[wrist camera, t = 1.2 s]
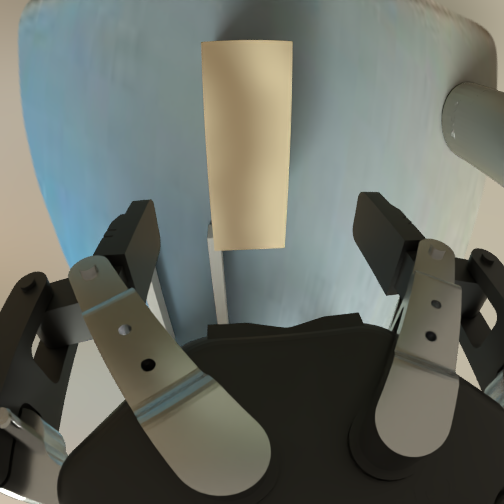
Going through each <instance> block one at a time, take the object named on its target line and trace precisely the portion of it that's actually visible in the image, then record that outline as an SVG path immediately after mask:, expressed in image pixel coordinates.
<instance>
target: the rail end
mask: <svg viewBox="0 0 504 504" xmlns="http://www.w3.org/2000/svg"><path fill="white" fill-rule="evenodd" d="M201 48H202V77H203V100H204V119H205V137H206V152H207V167H208V181H209V194H210V206H211V218H212V229H213V240H214V250H215V251H224V250H247V249H270V248H285V233H286V217H287V199H288V180H289V158H290V133H291V100H292V41H276V40H230V41H211V42H201Z"/></svg>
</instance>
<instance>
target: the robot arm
mask: <svg viewBox="0 0 504 504" xmlns="http://www.w3.org/2000/svg"><path fill="white" fill-rule="evenodd" d="M442 131H443V135H444V139H445V141H446V143H447V145H448V147H449V148H450V150H451V151H452V152H453V153H454V154H455V155H457V156H458V157H460V158H462V159H463V160H465V161H466V162H468V163H469V164H471V165H472V166H474V167H476V168H477V169H478V170H480V171H481V172H483V173H484V174H486V175H487V176H489V177H490V178H491V179H493V180H494V181H496V182H497V183H498V184H500V185H501V186H502V187H504V92H501V91H498V90H495V89H492V88H489V87H486V86H482V85H479V84H475V83H470V82H466V83H462V84H460V85H458V86H456V87H455V88H454V89H453V90H452V91H451V93H450V94H449V96H448V97H447V99H446V102H445V104H444V108H443V113H442ZM353 237H354V240H355V242H356V244H357V246H358V247H359V249H360V251H361V252H362V254H363V256H364V257H365V259H366V261H367V262H368V264H369V266H370V268H371V269H372V271H373V273H374V275H375V276H376V278H377V280H378V282H379V284H380V285H381V287H382V289H383V291H384V293H385V294H386V296H388V295H396V294H399V296H400V297H399V299H398V302H397V304H396V308H395V311H394V314H393V317H392V320H391V323H390V326H389V329H385V328H383V327H379V326H376V325H371V324H365V323H363V322H362V319H361V317H360V315H359V313H351V314H342V315H333V316H324V317H321V318H318V319H315V320H312V321H309V322H306V323H303V324H300V325H296V326H293V327H289V328H283V327H275V326H267V325H259V324H251V323H235V324H213V325H208V334H207V336H206V337H203V338H200V339H197V340H194V341H192V342H189V343H187V344H185V345H183V346H182V347H180V346H179V345H178V344H177V343H176V341H175V340H174V339H173V338H172V337H171V335H170V334H169V333H168V332H167V330H166V329H165V328H164V327H163V326H162V324H161V323H160V322H159V320H158V319H157V318H156V317H155V315H154V314H153V313H152V312H151V310H150V309H149V308H148V306H147V305H146V304H145V303H146V299H147V295H148V291H149V288H150V284H151V280H152V276H153V273H154V269H155V265H156V262H157V258H158V255H159V251H160V234H159V229H158V224H157V219H156V213H155V208H154V203H153V201H152V200H151V199H150V200H140V201H133V202H132V203H131V205H130V206H129V208H128V210H127V211H126V213H125V214H122V215H120V216H118V217H117V218H116V219H115V220H114V221H112V223H111V224H110V226H109V228H108V229H107V231H106V233H105V234H104V238H102V240H101V241H100V243H99V245H98V247H97V249H96V250H95V252H94V254H93V256H90V257H86V258H84V259H82V260H80V261H79V262H77V263H76V264H75V265H74V266H73V267H72V268H71V269H70V271H69V274H68V278H66V279H63V280H59V281H56V282H53V283H49V281H48V279H47V277H46V275H45V274H44V273H42V272H33V273H30V274H28V275H26V276H24V277H23V278H21V279H20V280H19V281H18V282H17V283H16V285H15V286H14V288H13V289H12V291H11V293H10V295H9V297H8V298H7V300H6V302H5V304H4V306H3V308H2V310H1V312H0V493H2V494H4V495H7V496H9V497H11V498H14V499H17V500H22V501H25V502H27V503H30V504H504V266H503V264H502V263H501V262H500V261H499V259H498V258H497V257H496V256H495V255H493V254H492V253H490V252H488V251H486V250H484V249H479V248H477V249H474V250H473V251H472V252H471V255H470V258H469V260H466V259H460V258H455V255H454V252H453V251H452V249H451V248H450V247H448V246H447V245H446V244H444V243H442V242H440V241H438V240H434V239H426V238H425V237H424V236H423V235H422V234H421V232H420V231H419V230H418V229H417V228H416V227H415V226H414V225H413V224H412V222H411V221H410V220H409V219H408V218H406V216H405V215H404V214H403V213H402V212H401V210H399V209H398V208H396V207H394V206H393V205H391V204H390V203H389V202H388V201H387V200H386V199H385V198H384V197H383V196H382V195H381V194H380V193H379V192H361V193H360V194H359V196H358V201H357V207H356V213H355V218H354V224H353ZM487 298H488V300H489V301H490V303H491V304H492V305H493V307H494V308H495V310H496V313H497V321H496V324H495V326H494V327H493V329H492V330H491V329H490V328H489V326H488V324H487V323H486V321H485V319H484V318H483V316H482V314H481V313H480V309H481V307H482V306H483V304H484V302H485V300H486V299H487ZM36 334H37V335H38V336H39V338H40V342H39V345H38V348H37V350H36V353H35V356H34V359H33V357H32V350H31V347H32V344H33V341H34V338H35V336H36ZM91 339H93V340H94V342H95V344H96V346H97V348H98V350H99V352H100V354H101V356H102V358H103V360H104V362H105V364H106V366H107V368H108V369H109V371H110V373H111V375H112V377H113V378H114V380H115V382H116V384H117V386H118V387H119V389H120V391H121V392H122V394H123V396H124V398H125V400H124V401H123V402H122V403H121V404H120V405H119V406H118V407H117V408H116V409H115V410H114V411H113V412H112V413H111V414H110V415H109V416H108V417H107V418H106V419H105V420H104V421H103V422H102V423H101V424H100V425H99V426H98V427H97V428H96V429H95V430H94V431H93V432H92V433H91V434H90V435H89V436H88V437H87V438H86V439H85V440H84V441H83V442H82V443H80V445H78V446H77V447H76V448H75V449H74V450H73V451H72V452H71V453H70V454H69V456H68V455H67V453H66V446H65V442H64V439H63V437H62V435H61V434H60V433H59V427H60V421H61V416H62V410H63V405H64V400H65V395H66V391H67V386H68V382H69V377H70V373H71V369H72V365H73V361H74V357H75V354H76V350H77V346H78V343H79V342H83V341H87V340H91ZM459 342H460V344H461V346H462V348H463V350H464V352H465V354H466V357H467V359H468V361H469V363H470V365H471V367H472V370H473V372H474V374H475V376H476V378H477V381H478V383H479V385H480V387H481V390H482V391H481V390H479V389H478V388H476V387H475V386H473V385H472V384H470V383H469V382H468V381H466V380H464V379H463V378H462V377H460V376H459V375H457V374H456V372H455V369H456V361H457V353H458V345H459Z"/></svg>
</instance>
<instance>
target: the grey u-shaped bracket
mask: <svg viewBox="0 0 504 504" xmlns="http://www.w3.org/2000/svg"><path fill="white" fill-rule="evenodd" d="M207 241H208V250H209V259H210V268H211V276H212V284H213V292H214V300H215V307H216V315H217V322H218V324H229V319H228V308H227V298H226V287H225V275H224V263H223V251H215V250H214V240H213V229H212V225H209V226H208V235H207ZM147 302H148V305H149V308H150V310H151V312H152V313H153V314H154V315H155V317H156V318H157V319H158V320H159V322H160V323H161V324H162V326H163V327H164V328H165V329H166V330H167V332H168V333H169V334H170V335H171V337H172V338H173V339H174V340H175V334H174V331H173V328H172V325H171V321H170V318H169V315H168V311H167V308H166V304H165V301H164V297H163V293H162V290H161V286H160V282H159V279H158V275H157V271H156V267H155V269H154V273H153V276H152V280H151V284H150V288H149V291H148V295H147Z"/></svg>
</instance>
